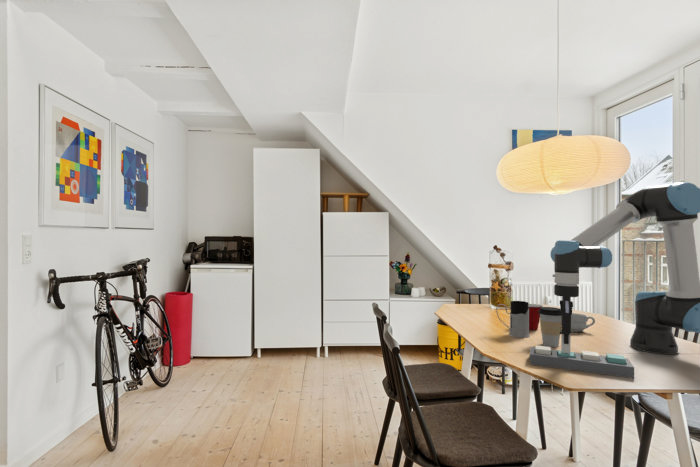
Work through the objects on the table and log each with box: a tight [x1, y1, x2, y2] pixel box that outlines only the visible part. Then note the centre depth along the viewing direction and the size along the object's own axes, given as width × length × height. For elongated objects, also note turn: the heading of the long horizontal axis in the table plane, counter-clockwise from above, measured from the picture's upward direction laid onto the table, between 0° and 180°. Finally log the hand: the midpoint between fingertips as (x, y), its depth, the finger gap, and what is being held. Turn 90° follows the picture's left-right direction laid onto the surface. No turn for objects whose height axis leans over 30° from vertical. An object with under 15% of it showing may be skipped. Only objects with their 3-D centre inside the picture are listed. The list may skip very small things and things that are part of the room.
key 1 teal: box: [605, 353, 626, 364], centre depth 130 cm, size 5×5×2 cm
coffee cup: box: [538, 306, 562, 348], centre depth 162 cm, size 9×9×15 cm
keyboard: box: [529, 346, 635, 379], centre depth 135 cm, size 30×10×4 cm, turn 64°
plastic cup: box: [529, 303, 544, 331], centre depth 191 cm, size 11×11×12 cm
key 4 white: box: [535, 344, 552, 355], centre depth 140 cm, size 5×5×2 cm
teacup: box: [571, 312, 596, 333], centre depth 186 cm, size 14×11×8 cm
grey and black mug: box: [495, 300, 531, 339], centre depth 178 cm, size 9×14×15 cm, turn 75°
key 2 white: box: [581, 350, 600, 361], centre depth 133 cm, size 5×5×2 cm
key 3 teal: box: [558, 350, 575, 358], centre depth 137 cm, size 5×5×2 cm
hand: (565, 352), depth 137 cm, fingers closed
